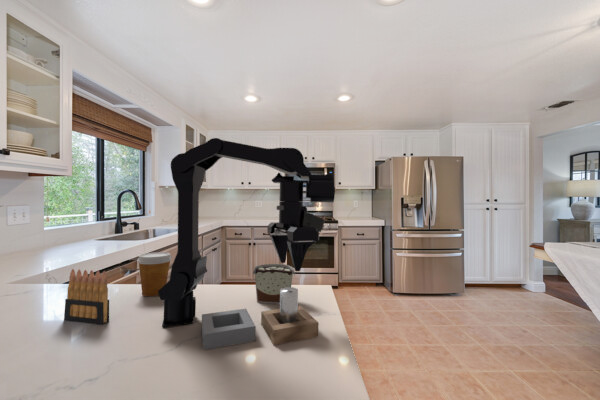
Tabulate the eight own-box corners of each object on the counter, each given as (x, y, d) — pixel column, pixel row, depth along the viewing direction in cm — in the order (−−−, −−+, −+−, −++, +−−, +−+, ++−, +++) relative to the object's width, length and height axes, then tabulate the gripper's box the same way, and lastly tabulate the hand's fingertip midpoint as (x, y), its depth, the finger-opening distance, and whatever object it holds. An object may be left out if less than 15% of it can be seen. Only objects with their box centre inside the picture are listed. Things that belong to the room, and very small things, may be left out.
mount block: (273, 345, 52) (273, 330, 53) (261, 324, 62) (261, 311, 62) (318, 336, 56) (318, 322, 56) (300, 318, 66) (300, 305, 66)
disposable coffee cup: (158, 286, 89) (159, 251, 89) (177, 291, 84) (178, 253, 85) (129, 294, 80) (130, 255, 81) (148, 300, 76) (149, 258, 76)
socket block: (203, 350, 50) (203, 334, 50) (201, 327, 60) (201, 314, 60) (255, 340, 54) (255, 326, 54) (245, 321, 63) (246, 308, 63)
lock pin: (282, 336, 56) (283, 293, 57) (277, 327, 60) (277, 288, 60) (300, 332, 58) (300, 291, 58) (293, 325, 62) (294, 286, 62)
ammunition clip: (109, 321, 62) (111, 270, 62) (102, 325, 60) (104, 272, 61) (71, 317, 64) (73, 267, 64) (63, 320, 62) (65, 269, 62)
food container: (296, 296, 81) (297, 264, 81) (294, 304, 75) (294, 268, 75) (257, 294, 82) (258, 262, 83) (252, 301, 76) (252, 267, 76)
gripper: (340, 202, 59) (339, 272, 58) (304, 202, 76) (303, 257, 75) (294, 201, 54) (293, 277, 54) (267, 201, 71) (266, 260, 71)
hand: (289, 266), depth 63 cm, fingers open, 9 cm apart
